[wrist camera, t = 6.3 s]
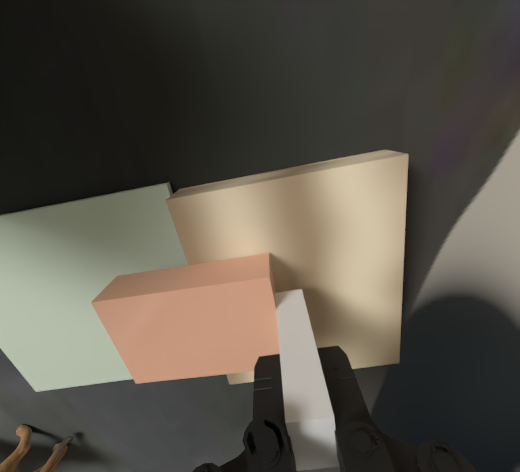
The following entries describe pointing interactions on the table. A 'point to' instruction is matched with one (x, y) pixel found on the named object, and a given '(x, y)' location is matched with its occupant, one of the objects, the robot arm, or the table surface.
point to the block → (192, 318)
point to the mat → (76, 280)
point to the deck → (315, 243)
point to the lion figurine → (9, 465)
